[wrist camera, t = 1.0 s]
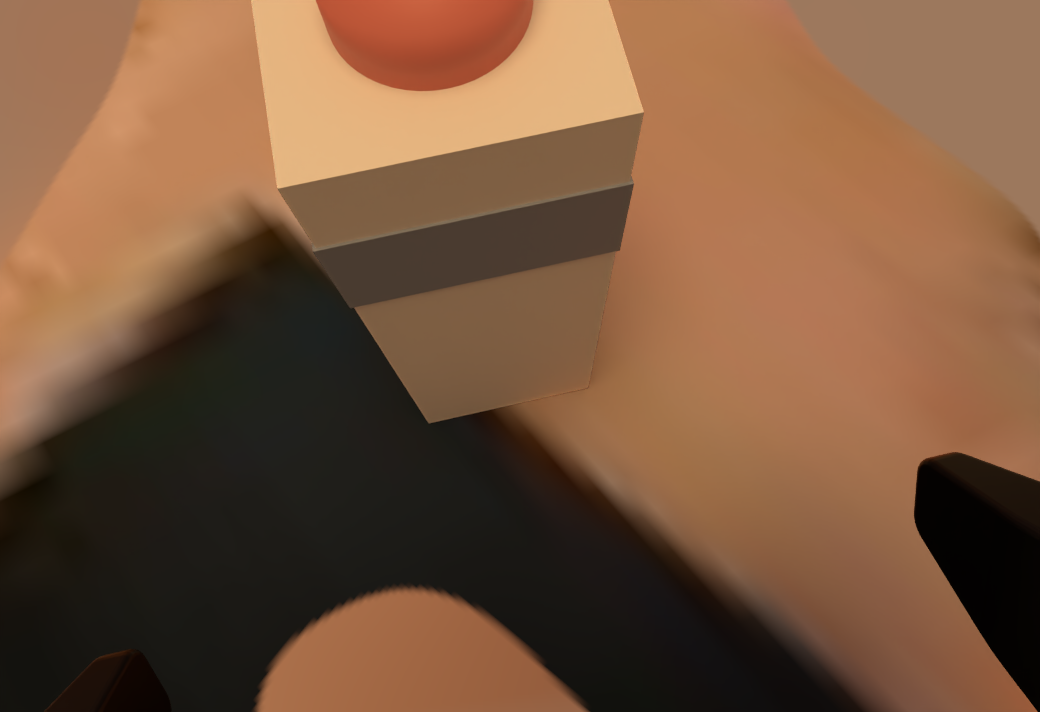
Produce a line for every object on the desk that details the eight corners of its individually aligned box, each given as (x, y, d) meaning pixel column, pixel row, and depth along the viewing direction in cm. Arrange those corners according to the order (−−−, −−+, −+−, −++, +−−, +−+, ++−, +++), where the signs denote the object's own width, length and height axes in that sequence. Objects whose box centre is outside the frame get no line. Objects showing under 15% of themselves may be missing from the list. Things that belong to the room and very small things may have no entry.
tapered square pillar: (589, 389, 24) (658, 65, 9) (427, 425, 24) (246, 150, 9) (552, 242, 25) (562, -227, 11) (399, 275, 25) (206, -159, 11)
